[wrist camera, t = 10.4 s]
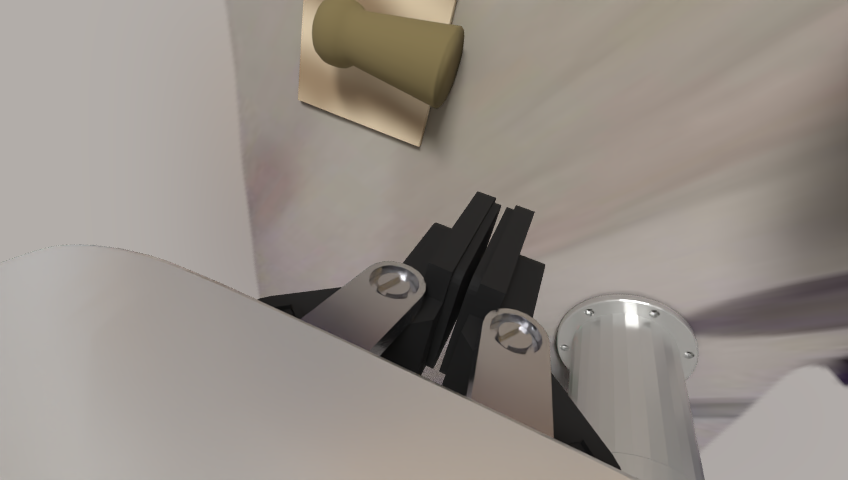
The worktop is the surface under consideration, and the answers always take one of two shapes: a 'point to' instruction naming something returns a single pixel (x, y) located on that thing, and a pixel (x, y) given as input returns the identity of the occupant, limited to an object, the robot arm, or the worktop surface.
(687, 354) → the robot arm
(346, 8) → the pepper shaker
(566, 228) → the worktop surface
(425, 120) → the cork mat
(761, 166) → the worktop surface
